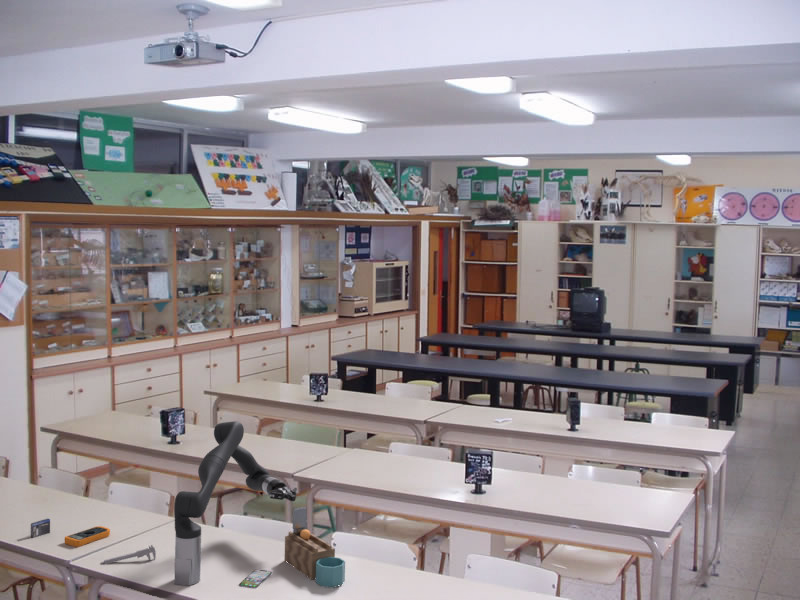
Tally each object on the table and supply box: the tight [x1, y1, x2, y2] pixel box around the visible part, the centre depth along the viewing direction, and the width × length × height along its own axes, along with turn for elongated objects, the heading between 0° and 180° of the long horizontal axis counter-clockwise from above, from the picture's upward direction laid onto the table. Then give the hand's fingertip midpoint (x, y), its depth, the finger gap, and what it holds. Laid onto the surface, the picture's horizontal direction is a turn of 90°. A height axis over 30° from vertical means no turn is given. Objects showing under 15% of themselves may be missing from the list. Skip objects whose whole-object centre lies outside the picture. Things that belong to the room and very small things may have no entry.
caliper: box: [100, 544, 157, 565], centre depth 314 cm, size 20×1×6 cm, turn 108°
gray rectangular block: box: [292, 506, 308, 537], centre depth 320 cm, size 3×5×11 cm, turn 126°
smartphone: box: [238, 568, 273, 589], centre depth 301 cm, size 7×1×15 cm
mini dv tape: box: [30, 518, 51, 539], centre depth 340 cm, size 8×2×6 cm, turn 150°
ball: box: [300, 529, 311, 540], centre depth 316 cm, size 4×4×4 cm
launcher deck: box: [283, 531, 336, 580], centre depth 314 cm, size 22×10×12 cm, turn 36°
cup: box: [315, 556, 346, 588], centre depth 301 cm, size 10×10×8 cm
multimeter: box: [64, 525, 111, 548], centre depth 336 cm, size 9×18×3 cm, turn 150°
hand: (293, 498), depth 325 cm, fingers closed
